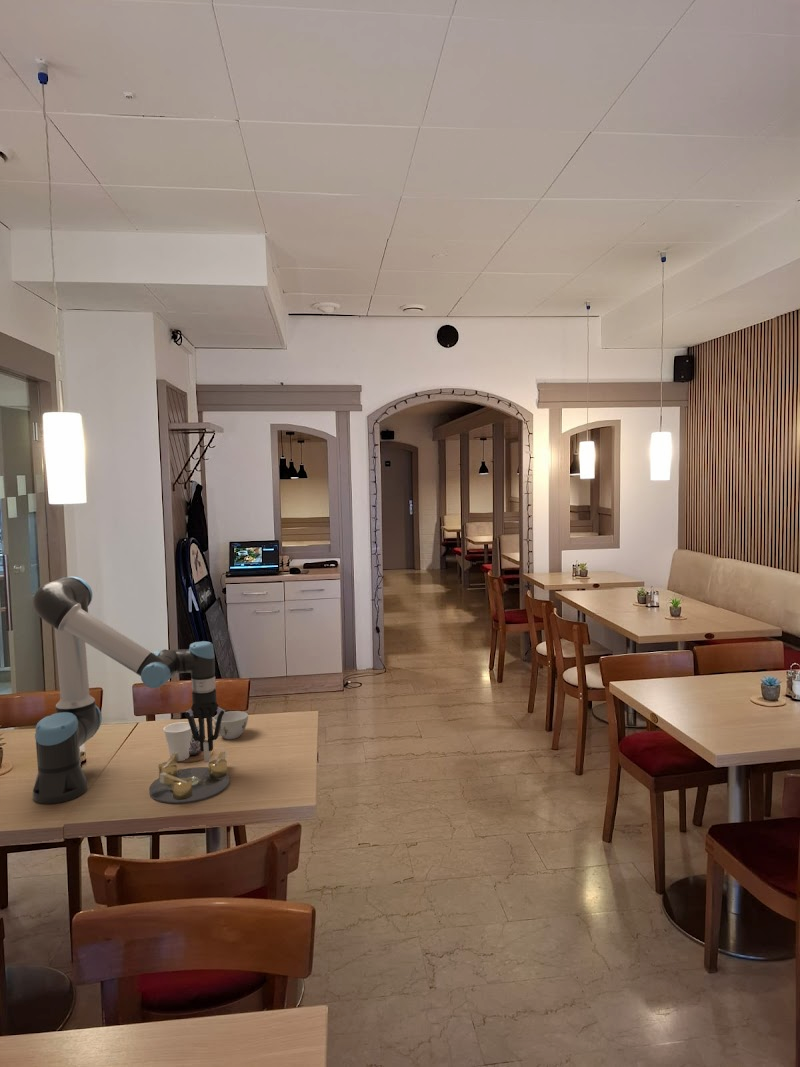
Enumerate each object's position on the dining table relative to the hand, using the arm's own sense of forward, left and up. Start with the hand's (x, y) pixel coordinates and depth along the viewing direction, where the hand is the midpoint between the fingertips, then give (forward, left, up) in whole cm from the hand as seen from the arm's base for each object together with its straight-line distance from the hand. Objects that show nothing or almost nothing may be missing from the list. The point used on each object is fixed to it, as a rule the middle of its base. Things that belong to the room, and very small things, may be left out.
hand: (207, 760), depth 231 cm
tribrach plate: (-3, -11, -4) cm, 12 cm away
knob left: (-11, -3, -2) cm, 11 cm away
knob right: (+5, -3, -2) cm, 6 cm away
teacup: (+1, +31, -4) cm, 31 cm away
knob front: (-6, -18, -2) cm, 19 cm away
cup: (-12, +12, -4) cm, 17 cm away
